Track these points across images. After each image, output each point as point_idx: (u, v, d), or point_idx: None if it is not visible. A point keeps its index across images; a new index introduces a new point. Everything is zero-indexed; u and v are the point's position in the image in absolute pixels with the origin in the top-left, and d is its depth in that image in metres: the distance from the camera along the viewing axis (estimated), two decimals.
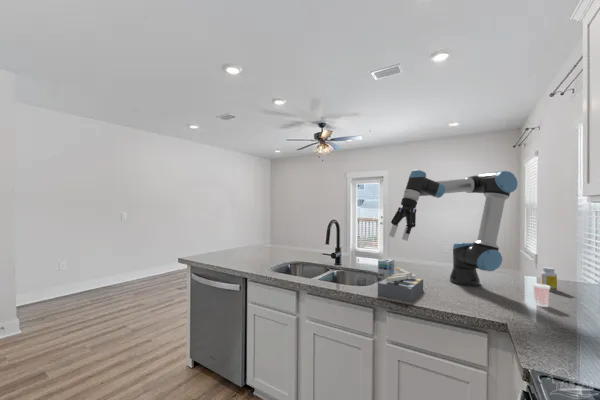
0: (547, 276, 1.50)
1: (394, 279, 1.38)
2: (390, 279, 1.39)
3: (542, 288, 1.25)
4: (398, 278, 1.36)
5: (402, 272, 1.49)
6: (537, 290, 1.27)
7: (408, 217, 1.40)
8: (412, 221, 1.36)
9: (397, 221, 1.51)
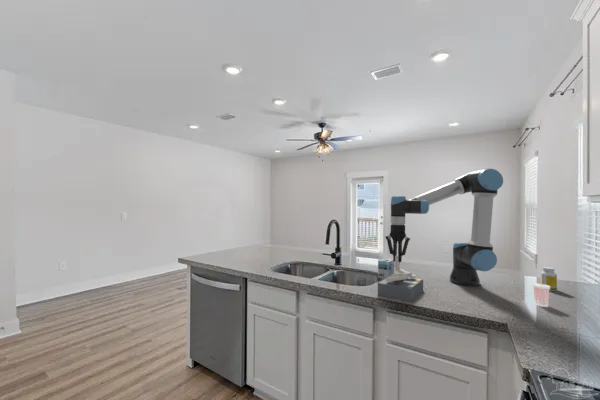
0: (547, 276, 1.50)
1: (394, 279, 1.38)
2: (390, 279, 1.39)
3: (542, 288, 1.25)
4: (398, 278, 1.36)
5: (402, 272, 1.49)
6: (537, 290, 1.27)
7: (400, 245, 1.51)
8: (405, 251, 1.50)
9: (396, 249, 1.53)
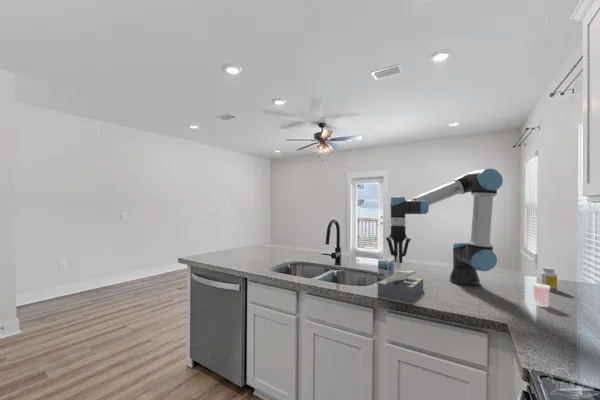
0: (547, 276, 1.50)
1: (394, 279, 1.38)
2: (390, 279, 1.39)
3: (542, 288, 1.25)
4: (398, 278, 1.36)
5: None
6: (537, 290, 1.27)
7: (401, 246, 1.51)
8: (405, 252, 1.50)
9: (397, 250, 1.53)
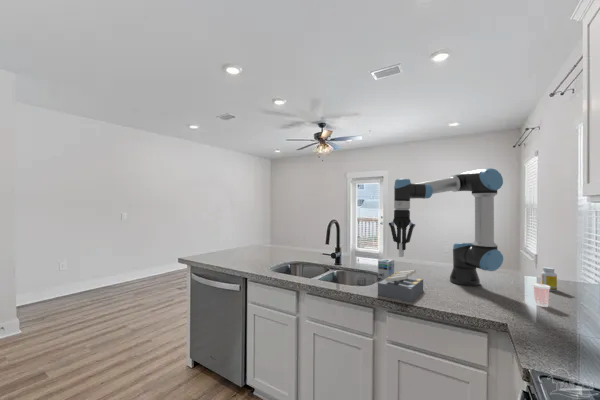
0: (547, 276, 1.50)
1: (394, 279, 1.38)
2: (390, 279, 1.39)
3: (542, 288, 1.25)
4: (398, 278, 1.36)
5: None
6: (537, 290, 1.27)
7: (404, 232, 1.40)
8: (409, 238, 1.39)
9: (400, 236, 1.42)
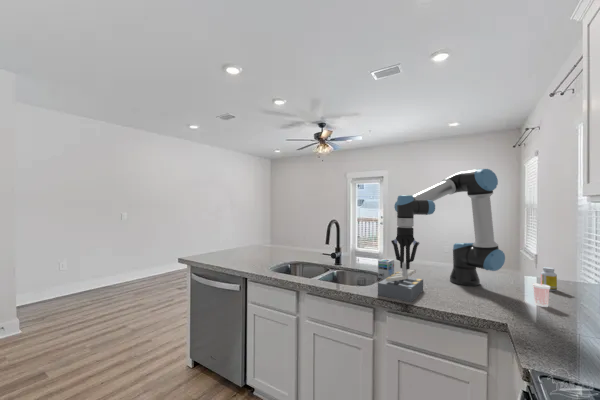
0: (547, 276, 1.50)
1: (394, 279, 1.38)
2: (390, 279, 1.39)
3: (542, 288, 1.25)
4: (398, 278, 1.36)
5: None
6: (537, 290, 1.27)
7: (408, 251, 1.35)
8: (413, 257, 1.34)
9: (403, 255, 1.37)
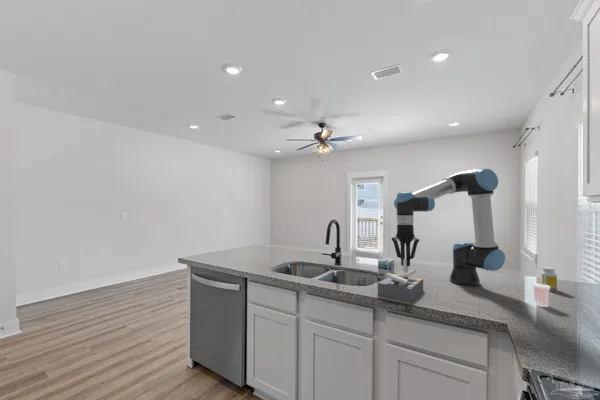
0: (547, 276, 1.50)
1: (394, 278, 1.38)
2: (390, 276, 1.39)
3: (542, 288, 1.25)
4: (398, 280, 1.36)
5: None
6: (537, 290, 1.27)
7: (409, 248, 1.35)
8: (413, 254, 1.34)
9: (404, 252, 1.37)
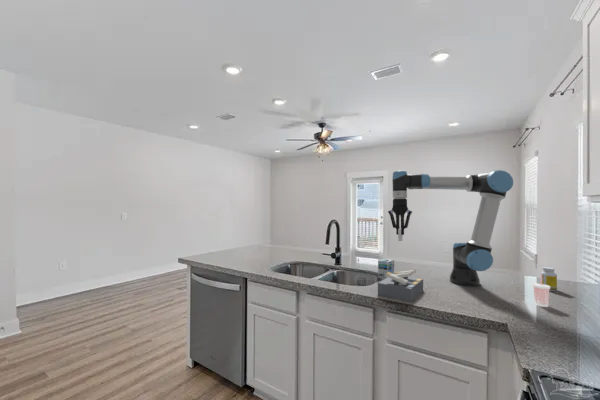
0: (547, 276, 1.50)
1: (394, 278, 1.38)
2: (390, 276, 1.39)
3: (542, 288, 1.25)
4: (398, 280, 1.36)
5: None
6: (537, 290, 1.27)
7: (403, 219, 1.56)
8: (407, 224, 1.55)
9: (398, 223, 1.58)
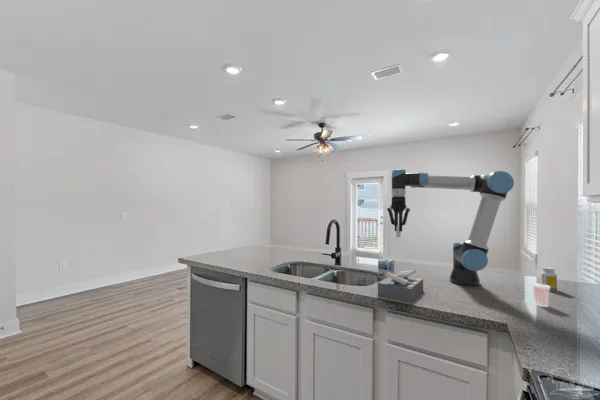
0: (547, 276, 1.50)
1: (394, 278, 1.38)
2: (390, 276, 1.39)
3: (542, 288, 1.25)
4: (398, 280, 1.36)
5: None
6: (537, 290, 1.27)
7: (401, 216, 1.61)
8: (405, 221, 1.60)
9: (397, 220, 1.63)
